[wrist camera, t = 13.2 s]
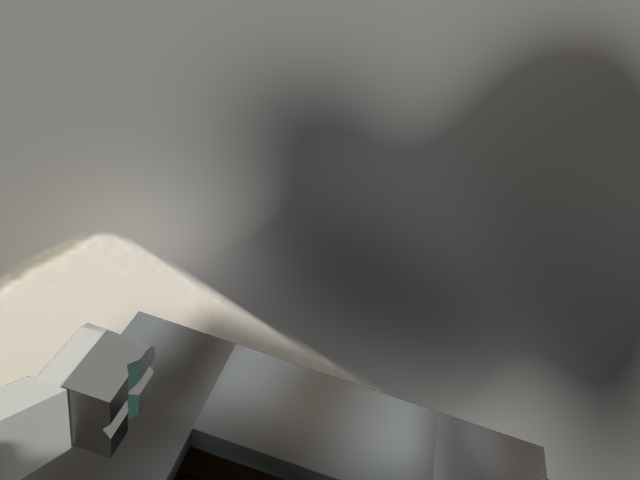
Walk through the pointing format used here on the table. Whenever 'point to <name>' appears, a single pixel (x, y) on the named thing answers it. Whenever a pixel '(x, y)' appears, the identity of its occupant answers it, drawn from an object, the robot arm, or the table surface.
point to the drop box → (282, 425)
